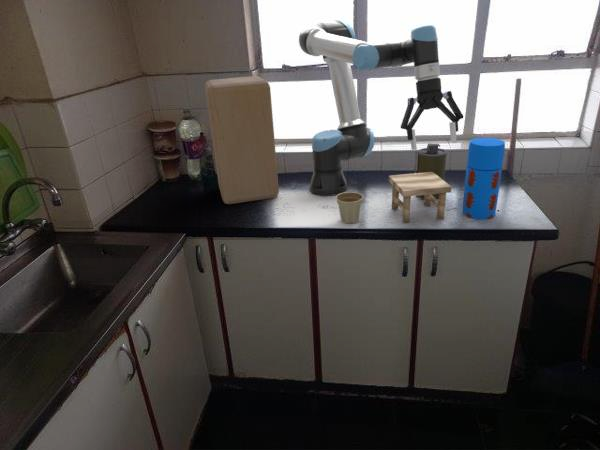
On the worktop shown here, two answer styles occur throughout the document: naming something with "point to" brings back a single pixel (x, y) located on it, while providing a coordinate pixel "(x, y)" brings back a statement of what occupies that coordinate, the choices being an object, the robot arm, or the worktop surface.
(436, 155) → the canister
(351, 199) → the flower pot
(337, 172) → the robot arm
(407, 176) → the footstool
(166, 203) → the worktop surface
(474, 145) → the thermos
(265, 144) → the block
